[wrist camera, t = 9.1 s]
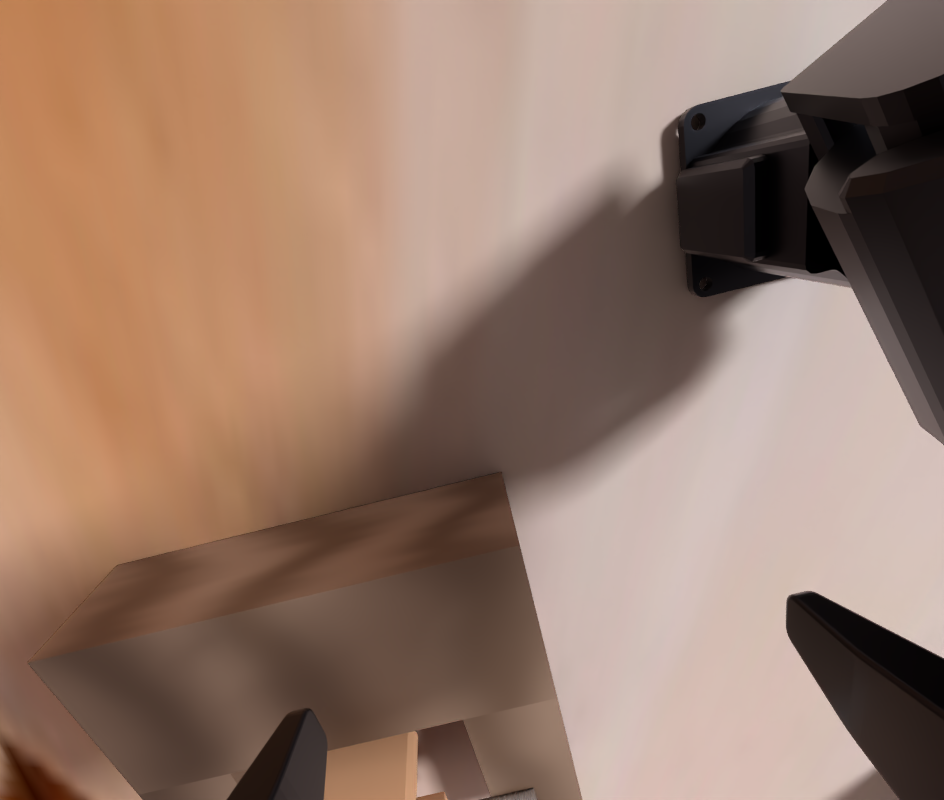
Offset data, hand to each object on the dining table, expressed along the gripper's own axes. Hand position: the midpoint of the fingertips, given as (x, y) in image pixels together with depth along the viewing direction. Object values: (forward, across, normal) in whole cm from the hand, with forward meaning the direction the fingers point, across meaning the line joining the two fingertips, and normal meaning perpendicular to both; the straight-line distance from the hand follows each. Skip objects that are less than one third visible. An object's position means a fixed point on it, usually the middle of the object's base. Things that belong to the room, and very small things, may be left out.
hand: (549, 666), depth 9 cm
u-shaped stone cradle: (+12, +9, +13) cm, 20 cm away
